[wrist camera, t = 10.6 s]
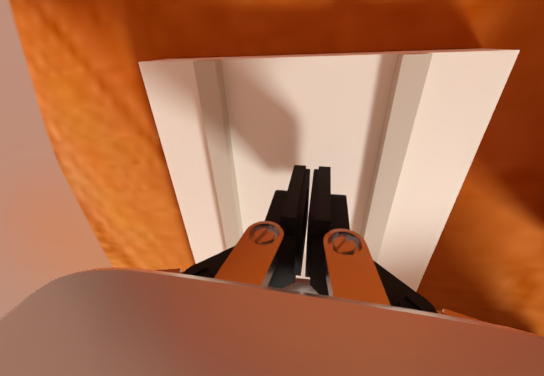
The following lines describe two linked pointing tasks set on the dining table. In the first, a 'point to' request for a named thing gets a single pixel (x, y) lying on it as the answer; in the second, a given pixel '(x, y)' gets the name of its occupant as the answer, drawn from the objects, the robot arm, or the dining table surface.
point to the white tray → (326, 140)
